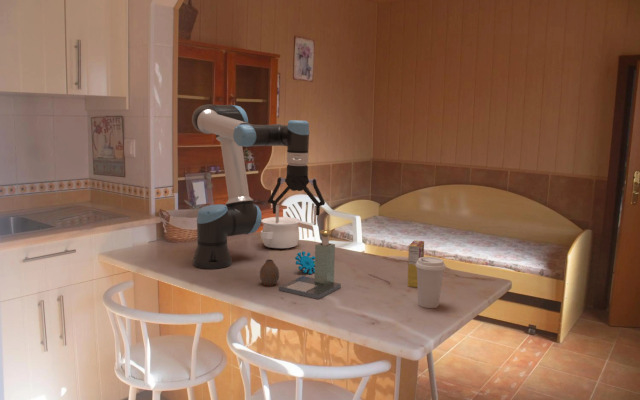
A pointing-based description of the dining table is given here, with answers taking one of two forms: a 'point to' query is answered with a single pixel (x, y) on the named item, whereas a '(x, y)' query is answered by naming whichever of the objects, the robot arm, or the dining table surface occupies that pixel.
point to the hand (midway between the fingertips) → (295, 223)
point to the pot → (280, 232)
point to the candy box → (414, 261)
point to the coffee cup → (429, 281)
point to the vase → (269, 273)
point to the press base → (316, 276)
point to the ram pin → (325, 237)
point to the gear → (305, 262)
